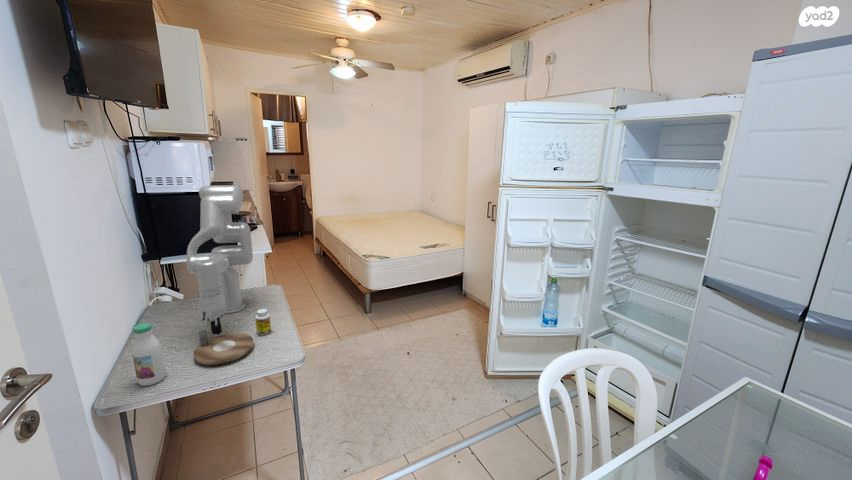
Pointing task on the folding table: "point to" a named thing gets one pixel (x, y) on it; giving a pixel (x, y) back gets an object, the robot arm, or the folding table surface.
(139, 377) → the milk bottle
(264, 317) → the supplement bottle
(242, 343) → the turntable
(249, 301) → the folding table surface
